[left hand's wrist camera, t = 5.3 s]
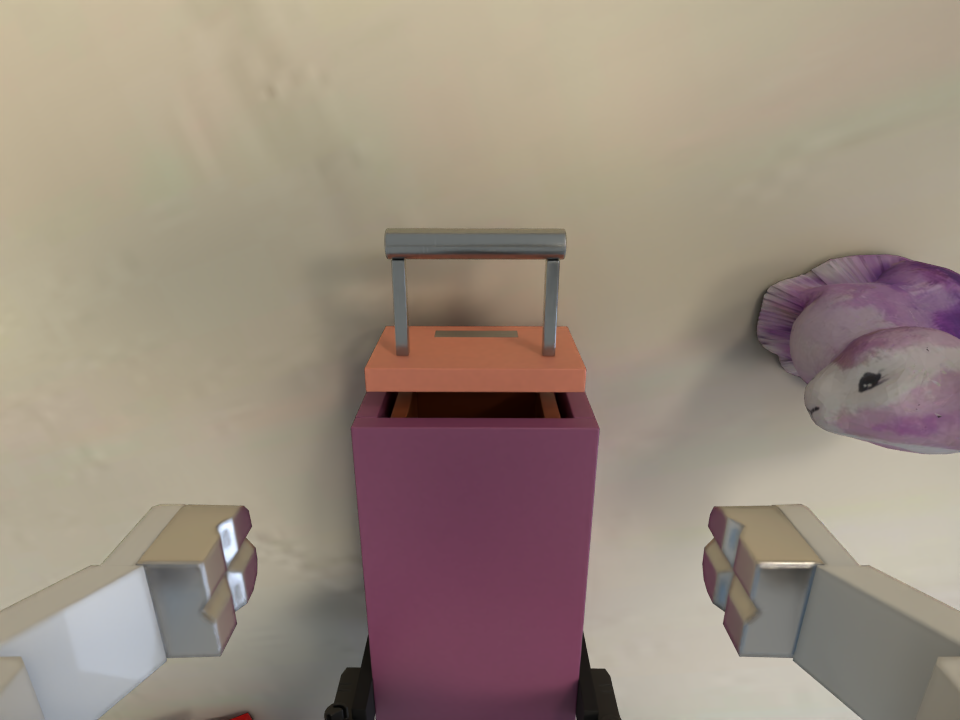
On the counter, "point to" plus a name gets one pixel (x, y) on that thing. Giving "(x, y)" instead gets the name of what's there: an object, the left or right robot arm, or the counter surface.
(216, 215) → the counter surface
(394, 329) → the drawer
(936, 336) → the figurine
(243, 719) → the toy
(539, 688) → the cabinet
